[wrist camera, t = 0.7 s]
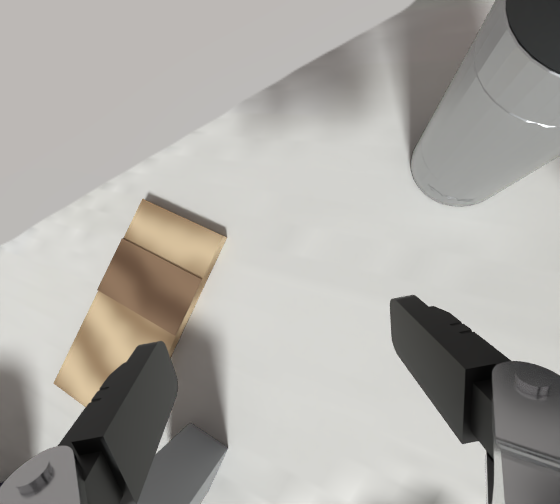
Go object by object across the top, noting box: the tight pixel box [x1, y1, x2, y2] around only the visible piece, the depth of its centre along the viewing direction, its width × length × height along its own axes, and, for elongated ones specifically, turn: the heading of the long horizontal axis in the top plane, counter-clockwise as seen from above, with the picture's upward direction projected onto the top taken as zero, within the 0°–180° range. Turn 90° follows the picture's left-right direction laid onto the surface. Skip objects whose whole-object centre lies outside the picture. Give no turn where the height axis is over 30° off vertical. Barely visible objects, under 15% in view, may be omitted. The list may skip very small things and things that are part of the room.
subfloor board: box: [54, 199, 227, 407], centre depth 33 cm, size 25×12×1 cm, turn 155°
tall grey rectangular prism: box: [137, 423, 228, 504], centre depth 25 cm, size 5×5×12 cm
